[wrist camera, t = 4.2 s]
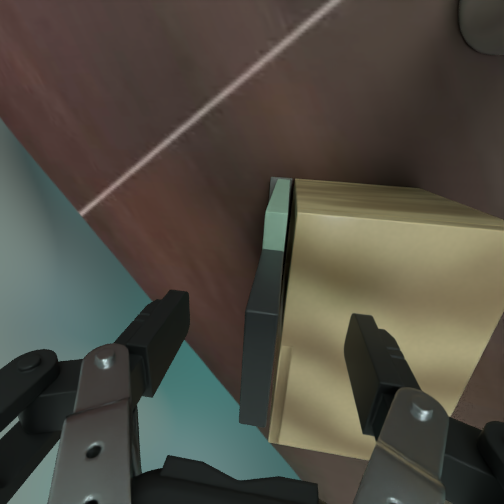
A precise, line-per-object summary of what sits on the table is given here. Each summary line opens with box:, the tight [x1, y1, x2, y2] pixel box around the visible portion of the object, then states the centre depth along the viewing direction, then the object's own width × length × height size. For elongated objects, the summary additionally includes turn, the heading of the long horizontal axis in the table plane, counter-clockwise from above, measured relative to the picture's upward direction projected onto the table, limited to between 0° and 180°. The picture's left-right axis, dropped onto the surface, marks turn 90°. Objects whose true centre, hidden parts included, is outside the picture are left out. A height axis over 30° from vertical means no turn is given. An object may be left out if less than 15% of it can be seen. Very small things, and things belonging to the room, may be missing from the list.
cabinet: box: [268, 177, 504, 460], centre depth 20 cm, size 16×12×12 cm
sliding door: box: [239, 179, 290, 427], centre depth 16 cm, size 8×1×16 cm, turn 177°
